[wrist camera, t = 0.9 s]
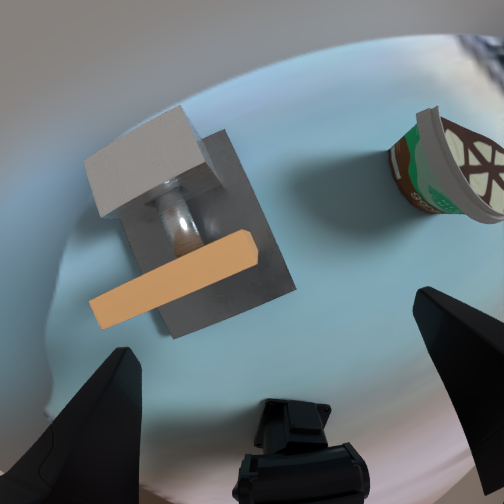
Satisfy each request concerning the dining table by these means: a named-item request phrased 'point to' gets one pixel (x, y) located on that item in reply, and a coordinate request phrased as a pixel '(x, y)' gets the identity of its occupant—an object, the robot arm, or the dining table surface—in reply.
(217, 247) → the tan trapezoid block
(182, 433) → the dining table surface
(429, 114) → the food container
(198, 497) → the dining table surface
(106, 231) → the dining table surface
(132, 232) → the bearing base
